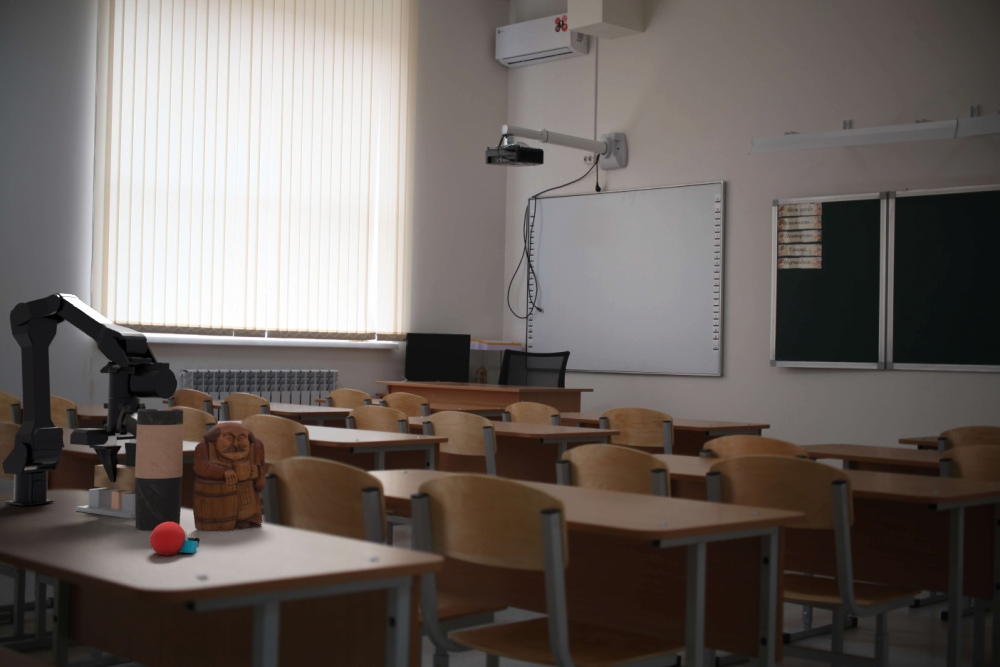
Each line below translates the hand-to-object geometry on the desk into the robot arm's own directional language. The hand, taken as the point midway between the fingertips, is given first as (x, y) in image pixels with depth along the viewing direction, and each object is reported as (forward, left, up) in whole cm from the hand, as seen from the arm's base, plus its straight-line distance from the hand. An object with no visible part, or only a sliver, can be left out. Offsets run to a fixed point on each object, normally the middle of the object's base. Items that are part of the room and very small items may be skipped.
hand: (122, 481), depth 185 cm
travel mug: (+20, -7, -6) cm, 22 cm away
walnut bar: (0, 0, -1) cm, 1 cm away
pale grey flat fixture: (0, +1, -6) cm, 6 cm away
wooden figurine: (+30, 0, -6) cm, 31 cm away
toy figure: (+39, -20, -6) cm, 44 cm away
